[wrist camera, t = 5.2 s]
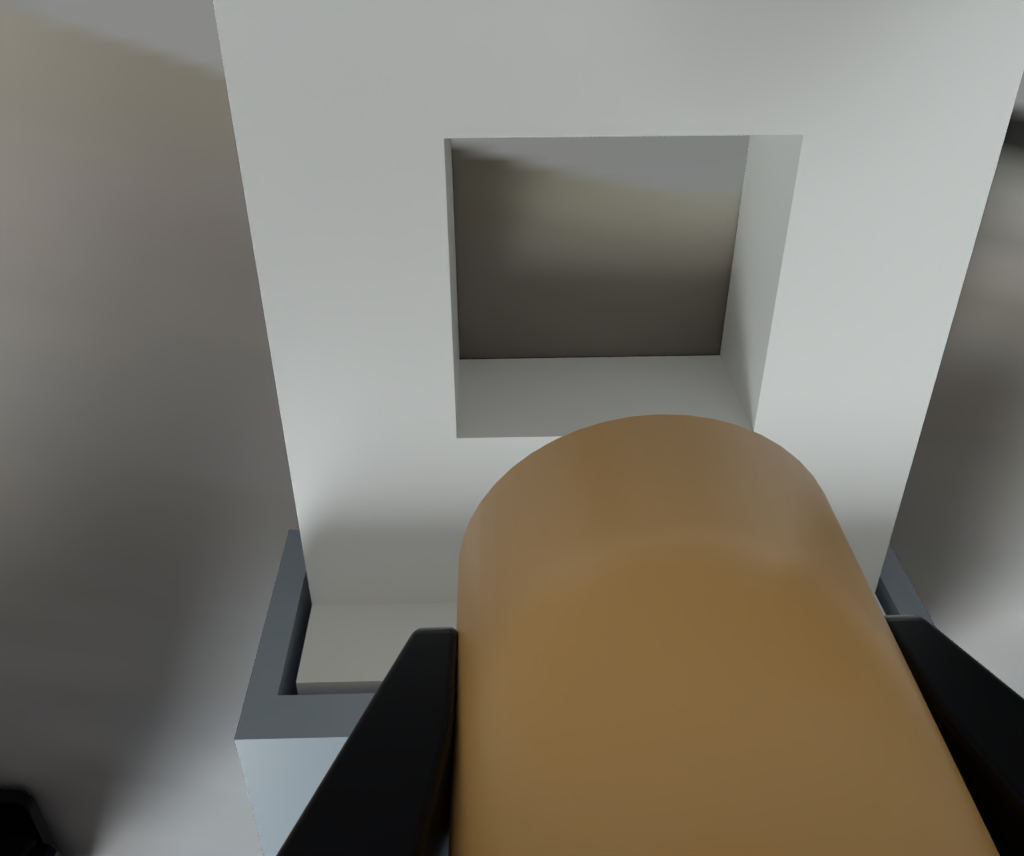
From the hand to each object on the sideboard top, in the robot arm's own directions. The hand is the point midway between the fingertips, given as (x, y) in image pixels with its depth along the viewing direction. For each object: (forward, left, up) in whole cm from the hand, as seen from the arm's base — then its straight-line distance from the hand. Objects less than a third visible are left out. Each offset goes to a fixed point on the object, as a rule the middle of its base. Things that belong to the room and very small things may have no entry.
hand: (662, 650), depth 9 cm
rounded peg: (0, 0, -1) cm, 1 cm away
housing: (0, -5, -11) cm, 12 cm away
